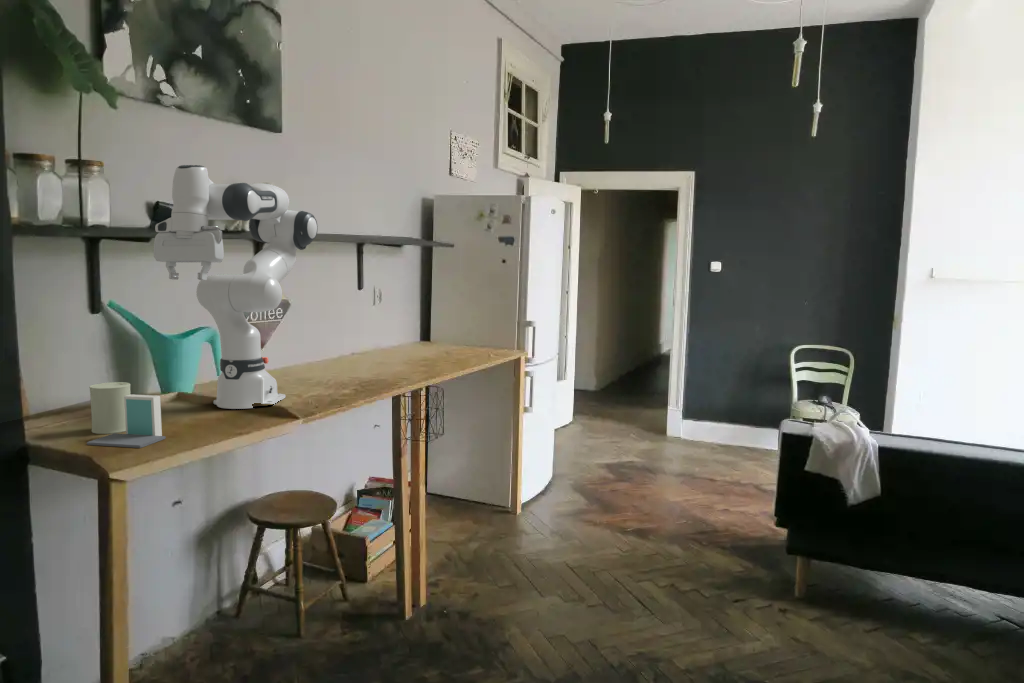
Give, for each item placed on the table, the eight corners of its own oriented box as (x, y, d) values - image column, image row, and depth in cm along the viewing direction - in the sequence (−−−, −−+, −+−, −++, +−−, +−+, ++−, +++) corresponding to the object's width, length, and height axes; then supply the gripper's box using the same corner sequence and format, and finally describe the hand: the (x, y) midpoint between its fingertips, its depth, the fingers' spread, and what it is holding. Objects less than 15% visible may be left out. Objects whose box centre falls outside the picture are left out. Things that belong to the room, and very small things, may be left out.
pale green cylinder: (138, 429, 185) (136, 383, 183) (99, 435, 178) (96, 387, 177) (124, 424, 191) (122, 379, 189) (86, 429, 184) (83, 383, 183)
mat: (114, 435, 178) (114, 433, 178) (165, 438, 176) (165, 436, 176) (86, 444, 169) (86, 442, 169) (140, 447, 167) (140, 445, 167)
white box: (133, 433, 180) (131, 394, 179) (161, 435, 179) (160, 395, 178) (125, 436, 178) (123, 396, 176) (154, 438, 176) (152, 397, 175)
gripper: (230, 227, 188) (228, 281, 188) (169, 229, 195) (167, 280, 195) (212, 223, 182) (210, 278, 182) (150, 225, 189) (148, 278, 189)
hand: (187, 279), depth 189 cm, fingers open, 8 cm apart
